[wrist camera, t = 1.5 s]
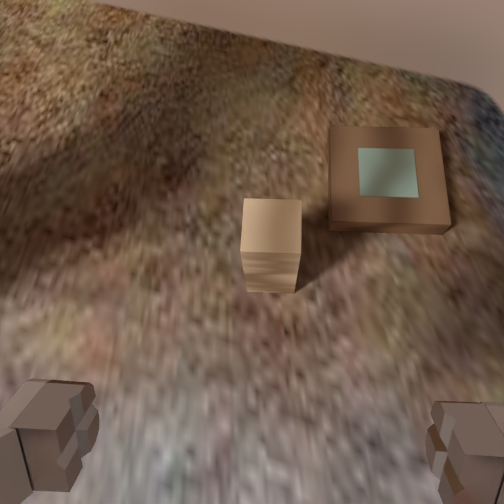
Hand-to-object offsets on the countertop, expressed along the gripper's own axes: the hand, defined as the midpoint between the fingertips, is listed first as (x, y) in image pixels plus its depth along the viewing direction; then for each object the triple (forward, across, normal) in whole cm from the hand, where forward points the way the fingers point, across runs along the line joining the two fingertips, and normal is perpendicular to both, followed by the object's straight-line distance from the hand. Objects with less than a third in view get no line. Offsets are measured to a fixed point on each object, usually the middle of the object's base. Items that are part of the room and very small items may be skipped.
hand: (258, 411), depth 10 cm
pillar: (+26, 0, +8) cm, 27 cm away
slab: (+33, -10, +2) cm, 34 cm away
